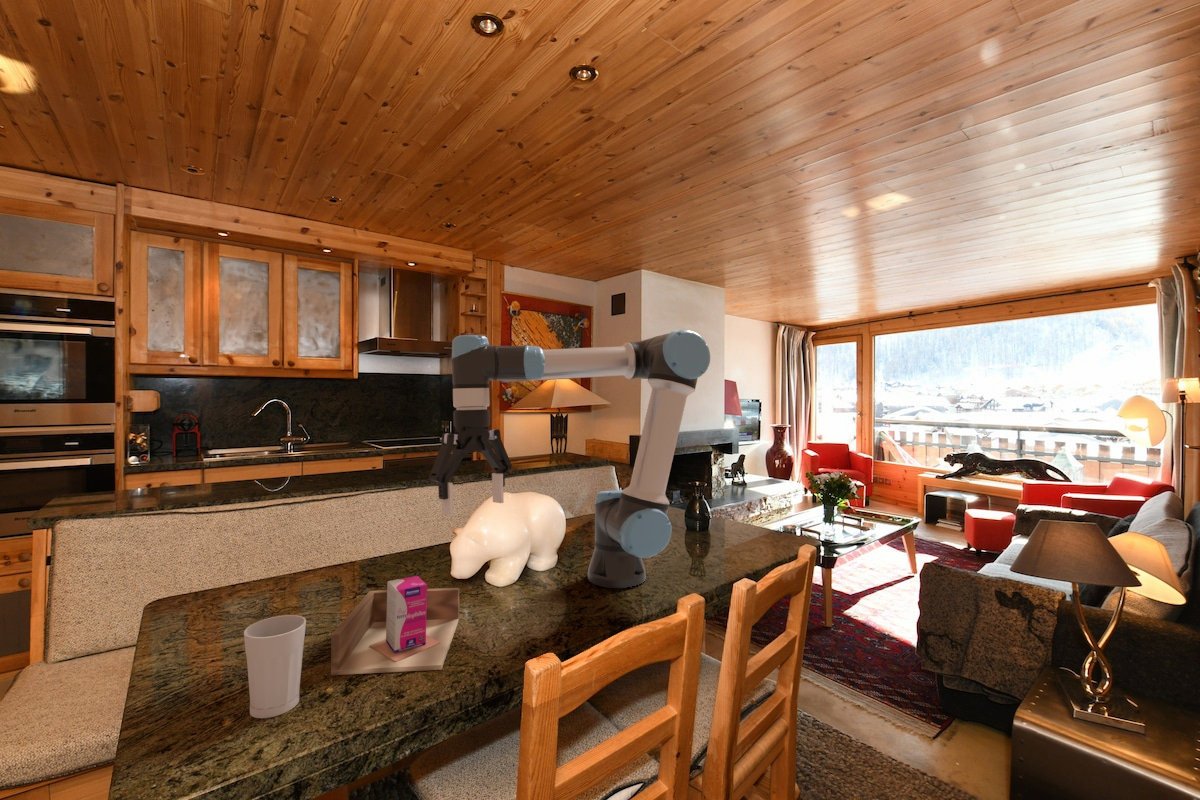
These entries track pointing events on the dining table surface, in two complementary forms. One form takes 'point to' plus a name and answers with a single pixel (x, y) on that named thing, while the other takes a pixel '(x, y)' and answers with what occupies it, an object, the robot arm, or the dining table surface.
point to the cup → (274, 664)
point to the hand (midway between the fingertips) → (474, 508)
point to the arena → (365, 636)
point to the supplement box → (406, 613)
